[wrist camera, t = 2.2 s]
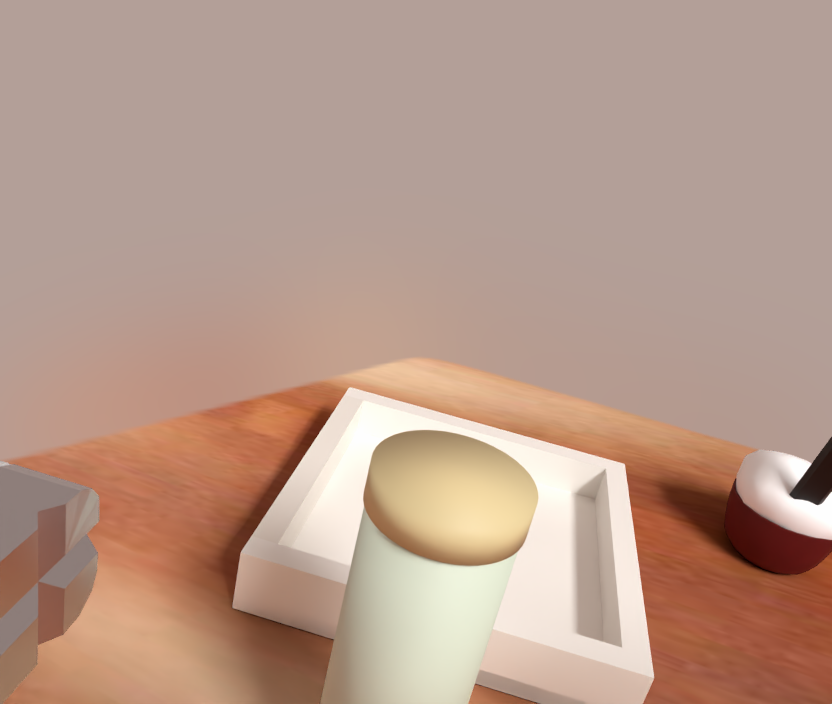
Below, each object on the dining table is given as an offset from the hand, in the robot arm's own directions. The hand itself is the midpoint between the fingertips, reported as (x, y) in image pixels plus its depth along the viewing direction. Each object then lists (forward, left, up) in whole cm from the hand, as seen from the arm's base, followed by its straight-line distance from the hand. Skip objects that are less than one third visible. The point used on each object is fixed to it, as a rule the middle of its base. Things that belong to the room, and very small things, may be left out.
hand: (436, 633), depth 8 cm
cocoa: (+19, +35, -19) cm, 44 cm away
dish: (+1, +27, -18) cm, 33 cm away
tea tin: (0, +12, -18) cm, 22 cm away
